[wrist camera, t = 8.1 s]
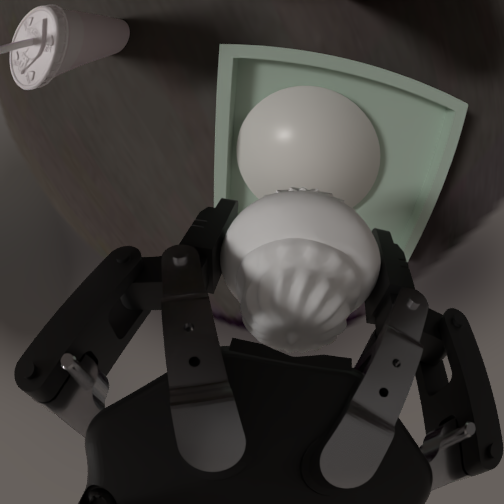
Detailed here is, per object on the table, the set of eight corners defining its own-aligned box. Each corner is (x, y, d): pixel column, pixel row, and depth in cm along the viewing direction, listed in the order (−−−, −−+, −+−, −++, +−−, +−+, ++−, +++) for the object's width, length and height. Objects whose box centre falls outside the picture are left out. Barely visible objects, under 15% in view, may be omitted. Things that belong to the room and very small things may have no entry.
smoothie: (156, 27, 16) (12, 37, 5) (114, 80, 19) (-15, 133, 9) (115, -5, 13) (-18, 1, 3) (79, 47, 17) (-43, 84, 6)
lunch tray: (229, 45, 16) (219, 44, 14) (454, 98, 15) (468, 104, 13) (221, 217, 27) (214, 231, 25) (398, 252, 25) (403, 268, 23)
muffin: (370, 156, 10) (419, 268, 5) (363, 266, 14) (373, 387, 9) (229, 162, 12) (157, 267, 7) (252, 266, 16) (218, 378, 10)
